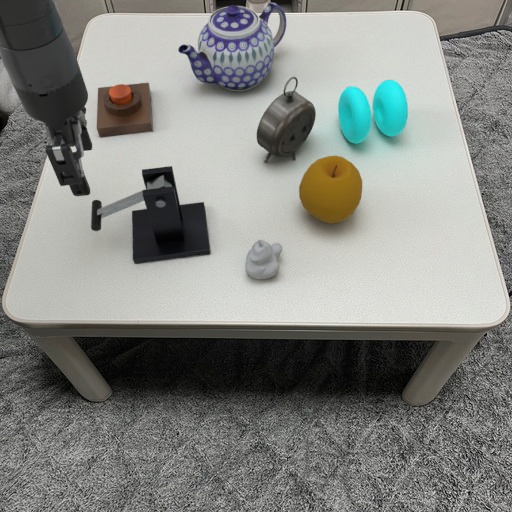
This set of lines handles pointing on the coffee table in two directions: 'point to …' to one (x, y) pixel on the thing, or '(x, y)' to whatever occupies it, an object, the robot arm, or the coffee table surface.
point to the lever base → (167, 223)
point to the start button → (120, 94)
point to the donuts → (384, 110)
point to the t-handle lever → (122, 202)
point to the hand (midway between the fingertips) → (84, 170)
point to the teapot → (235, 47)
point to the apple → (331, 189)
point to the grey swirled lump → (263, 259)
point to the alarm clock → (286, 124)
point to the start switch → (124, 112)
